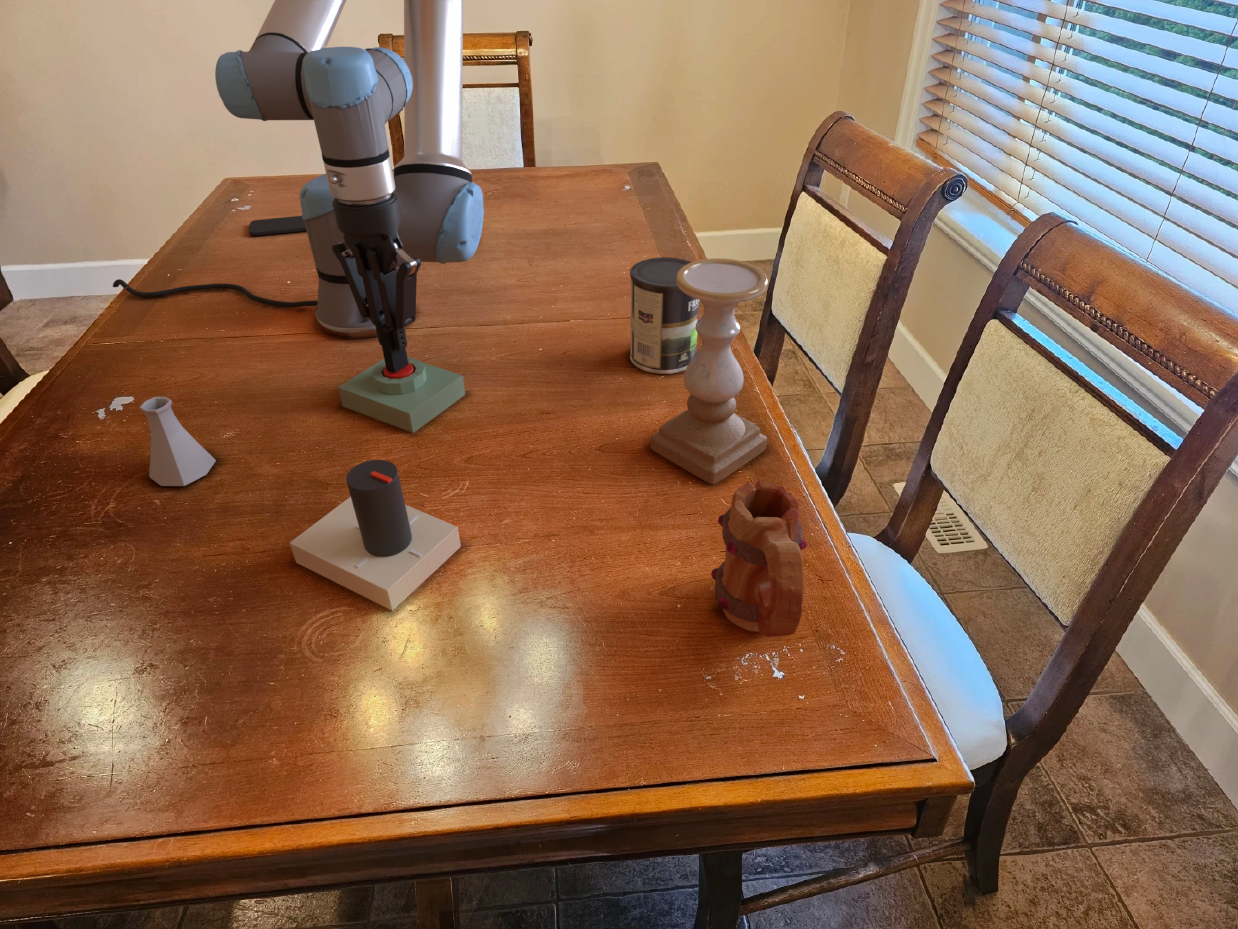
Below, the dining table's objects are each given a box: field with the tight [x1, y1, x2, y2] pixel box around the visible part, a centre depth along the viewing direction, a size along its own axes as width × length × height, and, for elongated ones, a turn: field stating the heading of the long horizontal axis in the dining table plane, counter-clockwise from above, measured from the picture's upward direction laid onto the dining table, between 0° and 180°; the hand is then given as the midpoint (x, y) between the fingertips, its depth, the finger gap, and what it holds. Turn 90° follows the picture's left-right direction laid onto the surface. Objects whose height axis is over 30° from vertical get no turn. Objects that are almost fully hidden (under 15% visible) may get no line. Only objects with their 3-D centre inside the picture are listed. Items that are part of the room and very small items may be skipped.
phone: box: [248, 215, 307, 237], centre depth 164 cm, size 7×1×15 cm
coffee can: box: [629, 256, 701, 375], centre depth 117 cm, size 10×10×14 cm
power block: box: [337, 356, 466, 434], centre depth 111 cm, size 13×11×5 cm
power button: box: [383, 362, 414, 379], centre depth 110 cm, size 4×4×2 cm
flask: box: [139, 396, 217, 487], centre depth 97 cm, size 7×7×10 cm
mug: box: [710, 480, 808, 638], centre depth 75 cm, size 15×8×15 cm, turn 5°
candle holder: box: [649, 257, 769, 485], centre depth 96 cm, size 11×11×24 cm
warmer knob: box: [345, 459, 412, 557], centre depth 82 cm, size 5×5×9 cm
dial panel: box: [289, 496, 462, 612], centre depth 87 cm, size 14×11×3 cm
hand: (397, 367), depth 109 cm, fingers closed
